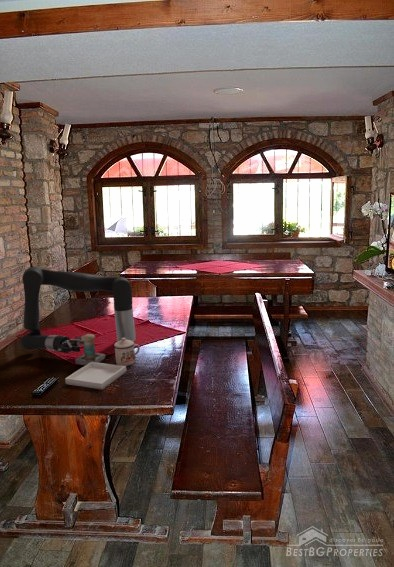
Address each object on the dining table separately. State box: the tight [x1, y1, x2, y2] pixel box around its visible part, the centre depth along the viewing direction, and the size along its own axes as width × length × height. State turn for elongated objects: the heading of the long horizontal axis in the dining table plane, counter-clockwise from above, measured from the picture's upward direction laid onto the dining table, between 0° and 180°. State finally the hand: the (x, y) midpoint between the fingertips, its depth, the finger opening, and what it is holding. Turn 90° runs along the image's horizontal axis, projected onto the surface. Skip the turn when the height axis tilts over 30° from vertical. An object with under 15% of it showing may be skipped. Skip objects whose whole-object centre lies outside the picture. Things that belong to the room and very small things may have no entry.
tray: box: [64, 362, 127, 390], centre depth 190 cm, size 18×18×2 cm
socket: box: [74, 352, 106, 366], centre depth 209 cm, size 10×10×2 cm
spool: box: [81, 333, 97, 360], centre depth 208 cm, size 6×6×12 cm
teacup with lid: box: [113, 338, 141, 367], centre depth 205 cm, size 12×9×12 cm
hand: (85, 346), depth 209 cm, fingers open, 8 cm apart
